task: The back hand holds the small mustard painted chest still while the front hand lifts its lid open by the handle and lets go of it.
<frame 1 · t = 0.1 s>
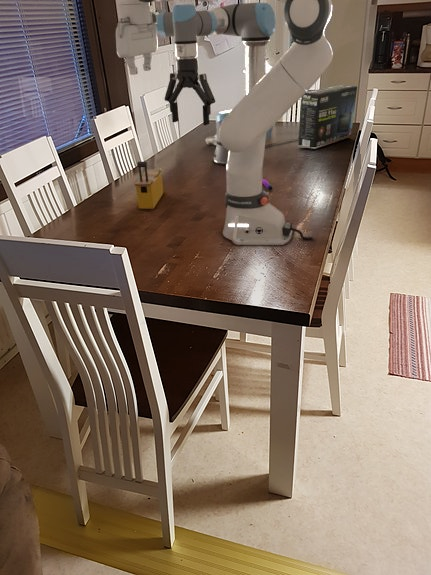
front hand: (140, 72, 133), 48 cm above the table, tool pointing down, fingers open, 8 cm apart
back hand: (190, 123, 166), 28 cm above the table, tool pointing down, fingers open, 13 cm apart
fossil: (221, 143, 251), on the table
lid: (147, 167, 172), point 13 cm above the table, hinge at 0.0°
chest: (151, 200, 179), on the table
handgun: (257, 183, 192), on the table
router box: (325, 143, 245), on the table
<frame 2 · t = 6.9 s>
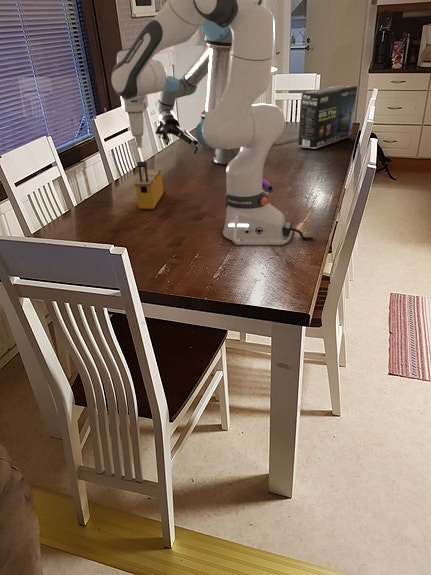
front hand: (139, 144, 161), 23 cm above the table, tool pointing down, fingers open, 8 cm apart
back hand: (182, 146, 193), 14 cm above the table, tool tilted 75°, fingers open, 13 cm apart
nothing on the table moved.
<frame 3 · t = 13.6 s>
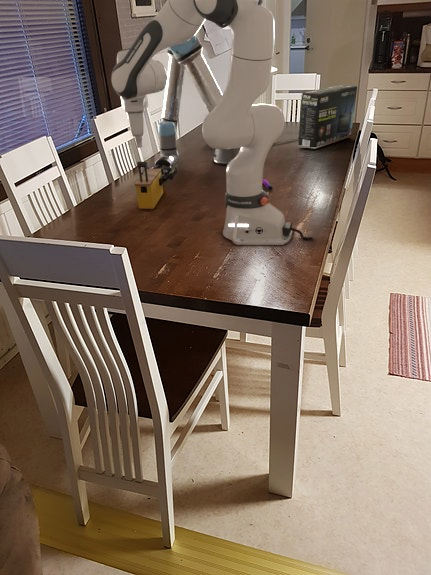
front hand: (139, 144, 161), 23 cm above the table, tool pointing down, fingers open, 8 cm apart
back hand: (152, 182, 179), 6 cm above the table, tool horizontal, fingers closed on chest, 6 cm apart
chest: (151, 200, 179), on the table, touching back hand
everything else where it was.
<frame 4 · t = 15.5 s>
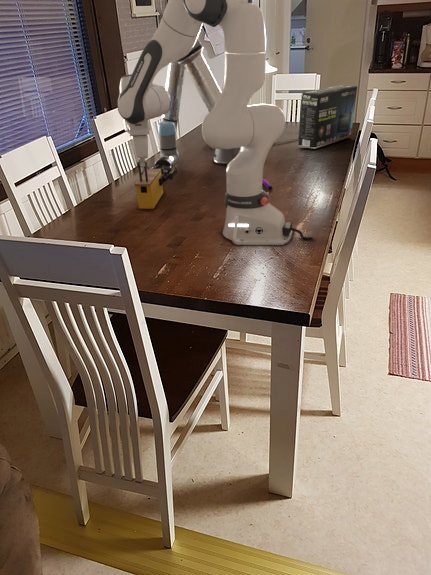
front hand: (142, 164, 165), 16 cm above the table, tool pointing down, fingers closed on lid, 3 cm apart
back hand: (152, 182, 179), 6 cm above the table, tool horizontal, fingers closed on chest, 6 cm apart
lid: (147, 167, 172), point 13 cm above the table, hinge at -0.1°, touching front hand
chest: (151, 200, 179), on the table, touching back hand
everything else where it was.
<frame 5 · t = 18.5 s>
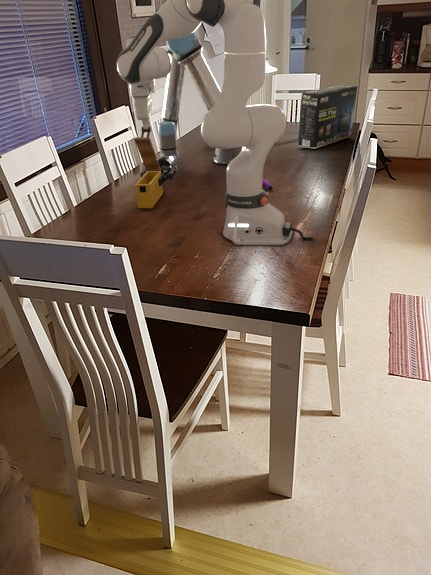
front hand: (146, 127, 170), 26 cm above the table, tool pointing down, fingers closed, pressing on lid
back hand: (151, 182, 179), 6 cm above the table, tool horizontal, fingers closed on chest, 6 cm apart
lid: (149, 147, 175), point 19 cm above the table, hinge at 54.4°, touching front hand
chest: (151, 200, 179), on the table, touching back hand
everything else where it was.
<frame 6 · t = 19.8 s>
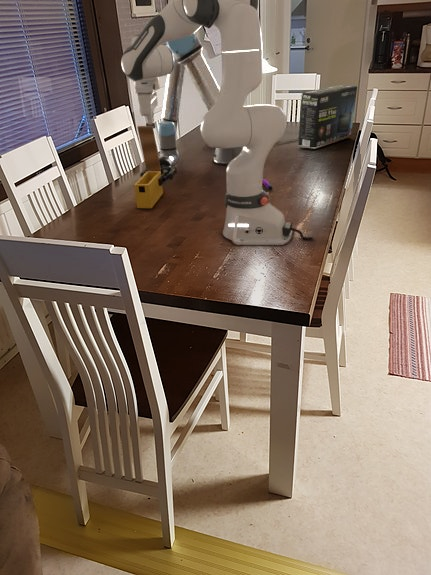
front hand: (151, 123, 175), 27 cm above the table, tool pointing down, fingers closed, pressing on lid
back hand: (151, 182, 179), 6 cm above the table, tool horizontal, fingers closed on chest, 6 cm apart
lid: (151, 144, 178), point 19 cm above the table, hinge at 76.3°, touching front hand
chest: (150, 200, 179), on the table, touching back hand
everything else where it was.
when the back hand's fingers open (6 cm above the table, at t = 23.7 s): chest stays where it is, on the table.
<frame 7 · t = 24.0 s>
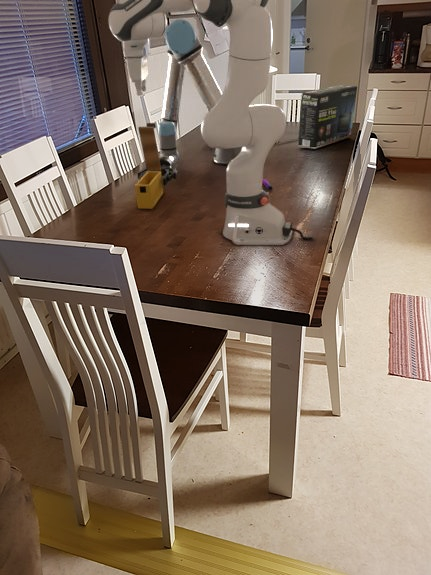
front hand: (141, 93, 162), 39 cm above the table, tool pointing down, fingers open, 8 cm apart
back hand: (152, 181, 179), 6 cm above the table, tool horizontal, fingers open, 9 cm apart
lid: (152, 144, 177), point 19 cm above the table, hinge at 74.9°
chest: (151, 200, 179), on the table
everything else where it was.
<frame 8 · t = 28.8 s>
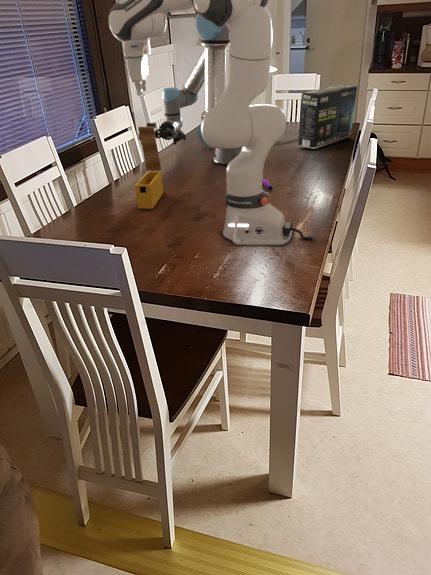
front hand: (141, 93, 162), 39 cm above the table, tool pointing down, fingers open, 8 cm apart
back hand: (157, 141, 186), 18 cm above the table, tool horizontal, fingers open, 13 cm apart
nothing on the table moved.
at the end: lid at +75° (first picture: +0°); the front hand is holding nothing; the back hand is holding nothing; chest tilted 0°; chest never tilted more than 1° during the clip; chest moved 0.2 cm from its start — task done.
